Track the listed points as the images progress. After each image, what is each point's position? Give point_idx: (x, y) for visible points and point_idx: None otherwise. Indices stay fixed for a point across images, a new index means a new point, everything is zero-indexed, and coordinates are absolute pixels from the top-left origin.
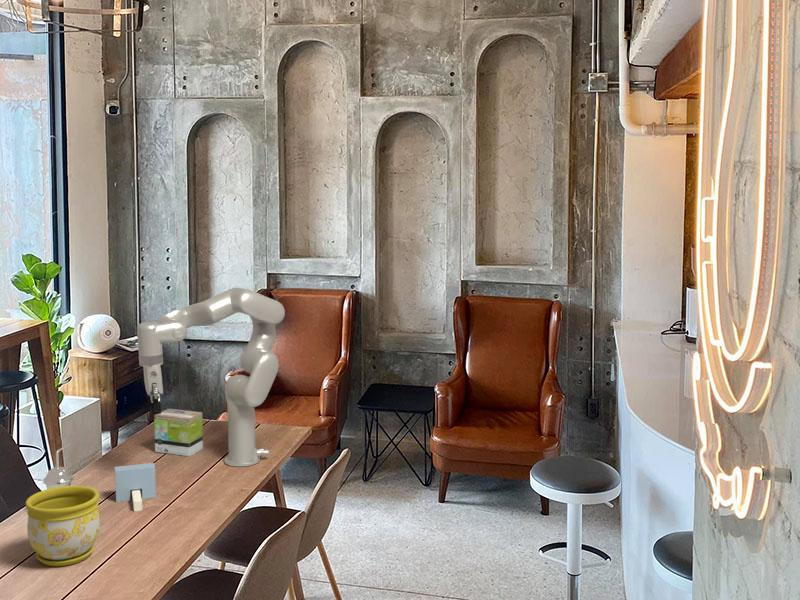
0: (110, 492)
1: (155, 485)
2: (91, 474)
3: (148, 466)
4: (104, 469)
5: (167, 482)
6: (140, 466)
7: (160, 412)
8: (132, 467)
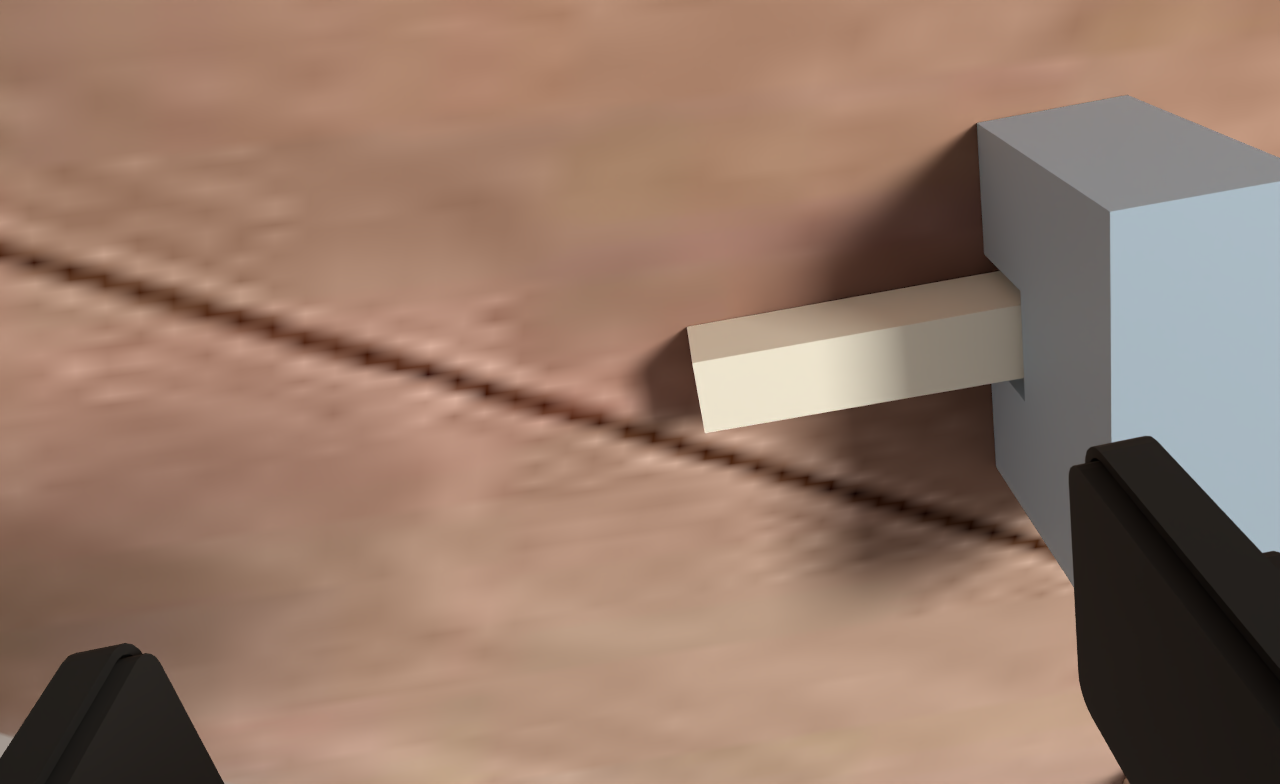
0: (854, 526)
1: (1189, 124)
2: (352, 734)
3: (1246, 269)
4: (216, 662)
5: (674, 18)
6: (1208, 371)
7: (1158, 465)
8: (1211, 459)
